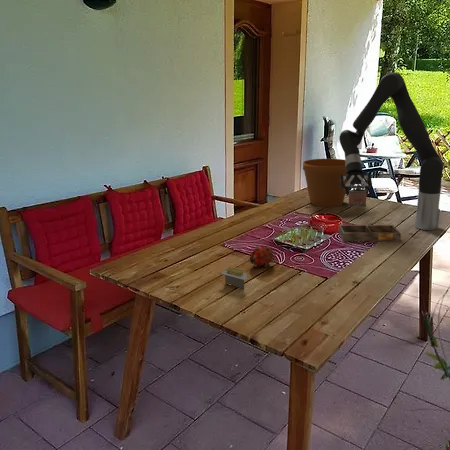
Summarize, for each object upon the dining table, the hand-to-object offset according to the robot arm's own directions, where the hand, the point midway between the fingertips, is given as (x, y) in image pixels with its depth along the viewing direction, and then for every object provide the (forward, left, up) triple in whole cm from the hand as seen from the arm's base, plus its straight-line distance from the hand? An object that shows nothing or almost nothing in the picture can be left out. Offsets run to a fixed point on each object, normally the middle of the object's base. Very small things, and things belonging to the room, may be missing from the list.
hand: (357, 194), depth 208 cm
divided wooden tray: (-4, +10, -17) cm, 20 cm away
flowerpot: (+7, -52, -17) cm, 55 cm away
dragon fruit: (+44, +46, -17) cm, 66 cm away
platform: (+52, +64, -18) cm, 85 cm away
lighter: (0, +1, -5) cm, 6 cm away
